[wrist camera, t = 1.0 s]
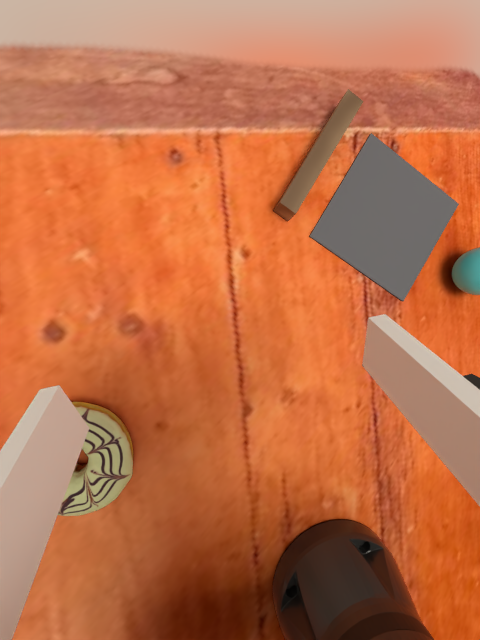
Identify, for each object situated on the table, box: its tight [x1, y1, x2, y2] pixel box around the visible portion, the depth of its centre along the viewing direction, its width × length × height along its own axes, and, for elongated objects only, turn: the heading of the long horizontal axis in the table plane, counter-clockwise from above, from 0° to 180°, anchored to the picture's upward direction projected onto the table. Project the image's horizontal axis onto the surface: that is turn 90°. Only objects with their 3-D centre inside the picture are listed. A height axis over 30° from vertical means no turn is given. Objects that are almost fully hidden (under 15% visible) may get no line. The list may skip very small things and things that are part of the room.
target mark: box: [309, 133, 458, 301], centre depth 32 cm, size 14×14×1 cm
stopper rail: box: [273, 89, 363, 221], centre depth 29 cm, size 2×14×2 cm, turn 148°
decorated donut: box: [58, 402, 133, 516], centre depth 26 cm, size 10×11×4 cm
